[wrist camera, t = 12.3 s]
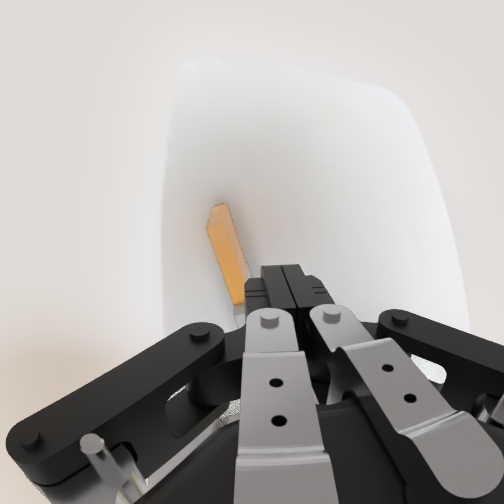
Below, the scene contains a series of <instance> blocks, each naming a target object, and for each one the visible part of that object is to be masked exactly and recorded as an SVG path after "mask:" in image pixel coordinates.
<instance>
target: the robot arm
mask: <svg viewBox="0 0 504 504" xmlns="http://www.w3.org/2000/svg"><path fill="white" fill-rule="evenodd" d="M244 301H245V325H244V326H242V327H241V328H239V329H237V330H235V331H232V332H228V333H224V331H223V329H222V328H221V327H219V326H217V325H215V324H212V323H206V322H199V323H192V324H189V325H186V326H184V327H182V328H181V329H179V330H177V331H176V332H174V333H172V334H171V335H169V336H167V337H166V338H164V339H162V340H161V341H159V342H157V343H156V344H154V345H153V346H151V347H149V348H147V349H146V350H144V351H142V352H141V353H139V354H138V355H136V356H134V357H132V358H131V359H129V360H128V361H126V362H124V363H122V364H121V365H119V366H117V367H115V368H114V369H112V370H110V371H108V372H107V373H105V374H104V375H102V376H100V377H98V378H96V379H95V380H93V381H91V382H90V383H88V384H86V385H84V386H83V387H81V388H79V389H77V390H76V391H74V392H72V393H70V394H69V395H67V396H65V397H63V398H61V399H60V400H58V401H56V402H54V403H53V404H51V405H49V406H47V407H45V408H44V409H42V410H40V411H38V412H37V413H35V414H33V415H31V416H29V417H27V418H25V419H24V420H22V421H20V422H18V423H17V424H16V425H14V426H13V427H12V428H11V430H10V431H9V433H8V435H7V438H6V449H7V452H8V454H9V455H10V456H11V458H12V459H13V460H14V461H15V462H16V464H17V465H18V466H19V467H20V468H21V469H22V471H23V472H24V474H25V475H26V477H27V478H28V479H29V480H30V482H32V484H33V485H34V486H35V487H36V488H37V489H38V490H39V491H40V492H41V493H42V494H43V495H44V496H45V497H46V498H47V499H48V500H49V501H50V502H51V503H52V504H504V346H503V345H500V344H497V343H494V342H491V341H488V340H486V339H483V338H480V337H477V336H475V335H472V334H469V333H466V332H463V331H461V330H458V329H455V328H452V327H449V326H447V325H444V324H441V323H438V322H436V321H433V320H430V319H427V318H424V317H422V316H419V315H416V314H413V313H410V312H408V311H404V310H398V309H391V310H386V311H384V312H382V313H381V314H380V315H379V319H378V323H370V322H360V321H359V320H358V319H357V318H356V317H355V315H354V314H353V313H352V312H351V311H350V310H349V309H347V308H346V307H343V306H340V305H336V304H335V303H334V301H333V299H332V298H331V296H330V295H329V293H328V291H327V290H326V288H325V287H324V285H323V283H322V282H321V280H319V279H317V278H316V277H314V276H312V275H310V276H305V275H304V273H303V271H302V269H301V267H300V265H299V264H295V265H273V266H261V278H249V279H248V280H247V281H246V282H245V284H244ZM412 354H414V355H416V356H418V357H421V358H423V359H426V360H428V361H431V362H433V363H436V364H438V365H440V366H442V367H443V368H444V369H445V371H446V374H447V376H446V380H445V382H444V383H443V384H438V383H436V382H433V381H431V380H428V379H427V378H426V376H425V375H424V374H423V373H422V372H421V371H420V369H419V368H418V367H417V366H416V365H415V364H414V362H413V361H412V360H411V355H412ZM183 386H185V387H186V388H185V389H183V390H182V391H181V392H179V393H178V394H177V395H175V396H174V397H172V398H171V399H170V400H168V399H169V398H170V397H171V395H173V394H174V393H175V392H177V391H178V390H179V389H181V388H182V387H183ZM240 398H241V403H240V419H239V420H236V421H233V422H231V423H229V424H226V425H223V423H222V422H221V421H220V420H219V419H218V418H219V417H220V416H221V415H222V414H223V413H224V412H225V411H226V410H227V409H228V407H229V405H230V401H233V400H237V399H240ZM146 478H148V479H149V480H148V486H147V491H146V482H145V479H146ZM145 492H146V493H145Z"/></svg>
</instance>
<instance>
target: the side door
mask: <svg viewBox="0 0 504 504" xmlns="http://www.w3.org/2000/svg"><path fill="white" fill-rule="evenodd" d="M206 230H207V233H208V236H209V238H210V241H211V244H212V247H213V250H214V253H215V255H216V258H217V261H218V264H219V266H220V269H221V272H222V275H223V278H224V280H225V283H226V286H227V288H228V291H229V294H230V297H231V299H232V302H233V305H234V318H235V321H236V323H237V326H238V329H239V328H241V327H242V326H244V325H245V301H244V284H245V282H246V281H247V280H248V279H249V278H252V277H251V274H250V271H249V268H248V265H247V262H246V261H245V258H244V255H243V252H242V249H241V246H240V243H239V240H238V237H237V234H236V231H235V228H234V225H233V222H232V218H231V215H230V212H229V209H228V206H227V203H225V204H221V205H218V206H215V207H213V209H212V212H211V215H210V218H209V221H208V224H207V227H206Z"/></svg>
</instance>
